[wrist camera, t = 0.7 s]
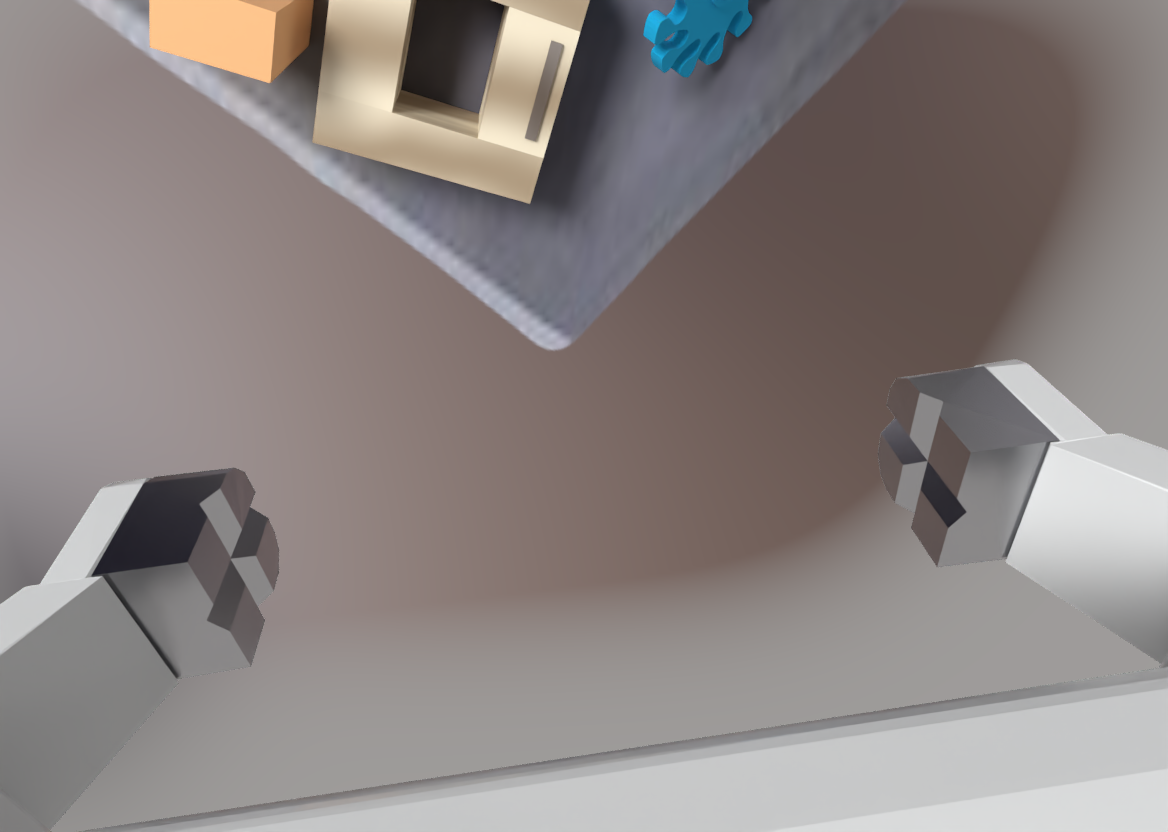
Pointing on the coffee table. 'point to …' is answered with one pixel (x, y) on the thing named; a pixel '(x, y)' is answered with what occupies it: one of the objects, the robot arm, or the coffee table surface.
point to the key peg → (233, 33)
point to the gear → (694, 32)
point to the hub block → (434, 129)
